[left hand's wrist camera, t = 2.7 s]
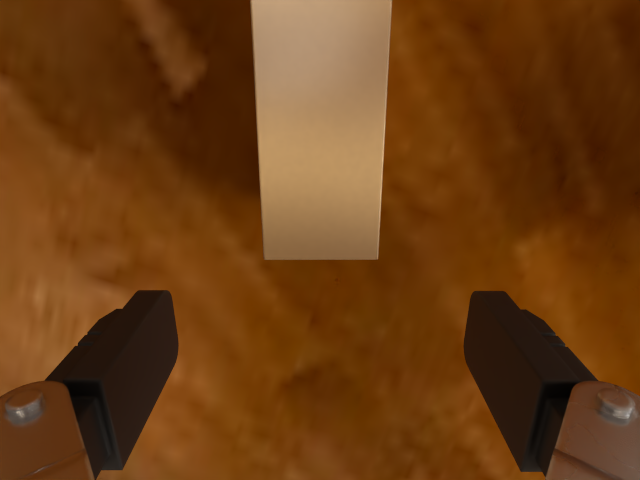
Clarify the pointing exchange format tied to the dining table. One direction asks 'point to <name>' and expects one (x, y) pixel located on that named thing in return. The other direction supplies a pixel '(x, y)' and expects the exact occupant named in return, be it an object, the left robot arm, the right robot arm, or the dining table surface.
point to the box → (321, 125)
